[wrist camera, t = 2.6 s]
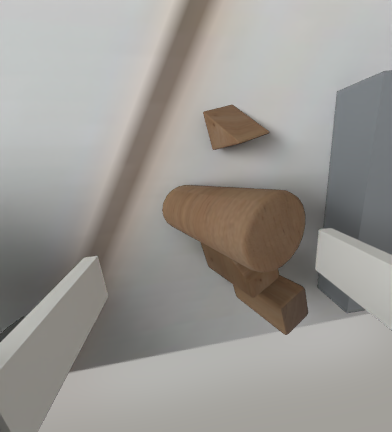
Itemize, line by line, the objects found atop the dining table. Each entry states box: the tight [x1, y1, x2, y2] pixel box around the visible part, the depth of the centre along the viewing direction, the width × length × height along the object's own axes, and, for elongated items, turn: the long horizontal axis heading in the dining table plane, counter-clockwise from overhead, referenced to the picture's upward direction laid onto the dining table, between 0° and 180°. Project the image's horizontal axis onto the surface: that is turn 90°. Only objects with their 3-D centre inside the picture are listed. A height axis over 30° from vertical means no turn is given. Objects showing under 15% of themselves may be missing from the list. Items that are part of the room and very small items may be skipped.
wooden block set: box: [162, 105, 308, 335], centre depth 15 cm, size 18×9×10 cm, turn 17°
